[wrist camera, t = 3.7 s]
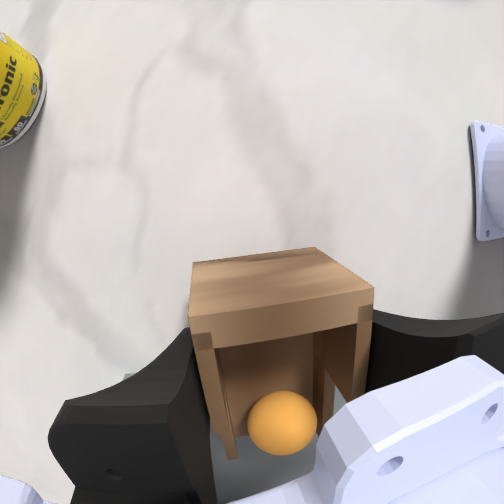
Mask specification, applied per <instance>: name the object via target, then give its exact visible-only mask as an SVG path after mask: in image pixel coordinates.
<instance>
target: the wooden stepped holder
mask: <svg viewBox="0 0 504 504" xmlns="http://www.w3.org/2000/svg"><path fill="white" fill-rule="evenodd" d="M373 303H374V287H373V286H372V285H371V284H369V283H368V282H366V281H365V280H363V279H362V278H360V277H359V276H357V275H356V274H354V273H353V272H351V271H350V270H348V269H347V268H345V267H344V266H342V265H341V264H340V263H338V262H337V261H335V260H334V259H332V258H330V257H329V256H327V255H326V254H324V253H323V252H321V251H320V250H318V249H317V248H315V247H310V248H302V249H294V250H287V251H279V252H271V253H263V254H256V255H248V256H240V257H232V258H225V259H217V260H209V261H201V262H193V267H192V277H191V288H190V299H189V310H188V320H189V325H190V330H191V335H192V340H193V345H194V350H195V355H196V359H197V364H198V369H199V373H200V377H201V382H202V386H203V391H204V395H205V399H206V403H207V407H208V411H209V415H210V419H211V423H212V427H213V431H214V435H216V434H221V436H222V440H223V444H224V448H225V452H226V456H227V459H228V460H233V459H238V454H237V448H236V442H235V437H241V436H248V435H249V432H248V427H247V420H248V415H249V412H250V410H251V408H252V407H253V405H254V404H255V403H256V402H257V401H258V400H259V399H260V398H261V397H263V396H265V395H267V394H269V393H271V392H275V391H291V392H295V393H297V394H299V395H301V396H303V397H304V398H306V399H307V400H308V401H309V402H310V403H311V405H312V406H313V408H314V410H315V413H316V416H317V428H316V433H317V435H318V437H319V436H320V434H321V432H322V429H323V427H324V424H325V423H326V422H327V421H328V420H329V419H330V418H332V417H333V410H334V397H335V385H336V387H337V388H338V390H339V391H340V393H341V394H342V396H343V398H344V399H345V401H346V402H347V403H348V402H350V401H352V400H354V399H356V398H358V397H360V396H362V395H364V393H365V386H366V378H367V370H368V362H369V352H370V342H371V331H372V318H373Z"/></svg>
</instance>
